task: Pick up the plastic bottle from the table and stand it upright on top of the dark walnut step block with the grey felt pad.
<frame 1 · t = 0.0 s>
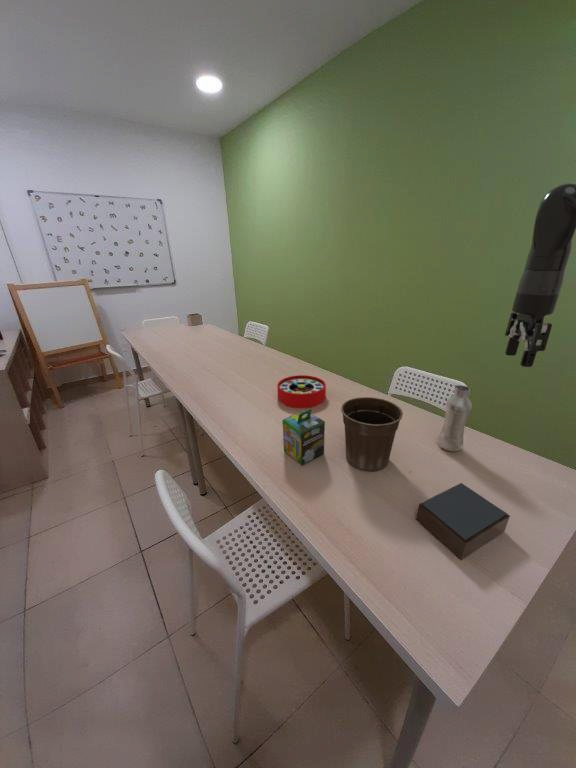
hand: (517, 360, 73), 30 cm above the table, tool pointing down, fingers open, 8 cm apart
toy clock: (301, 397, 126), on the table
step block: (458, 525, 65), on the table
plant pot: (366, 458, 88), on the table
plastic bottle: (448, 448, 91), on the table
chalk box: (303, 453, 91), on the table
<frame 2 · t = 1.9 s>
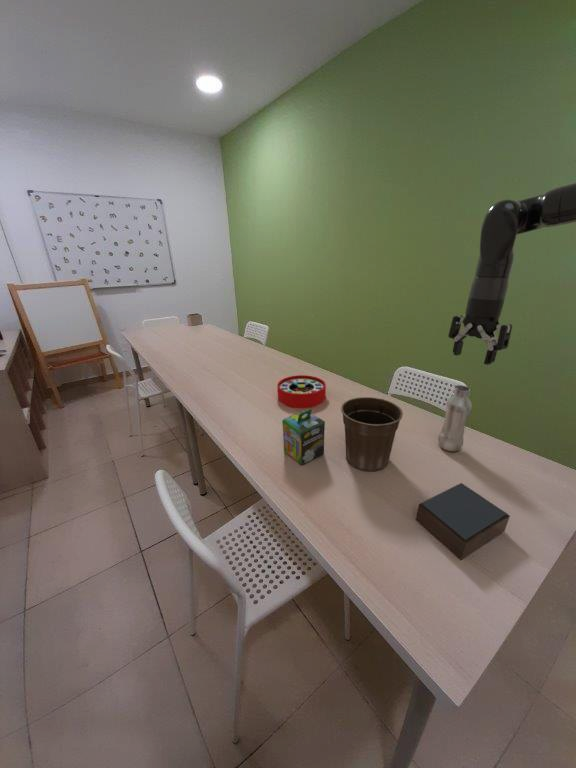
hand: (471, 359, 79), 29 cm above the table, tool pointing down, fingers open, 8 cm apart
nothing on the table moved.
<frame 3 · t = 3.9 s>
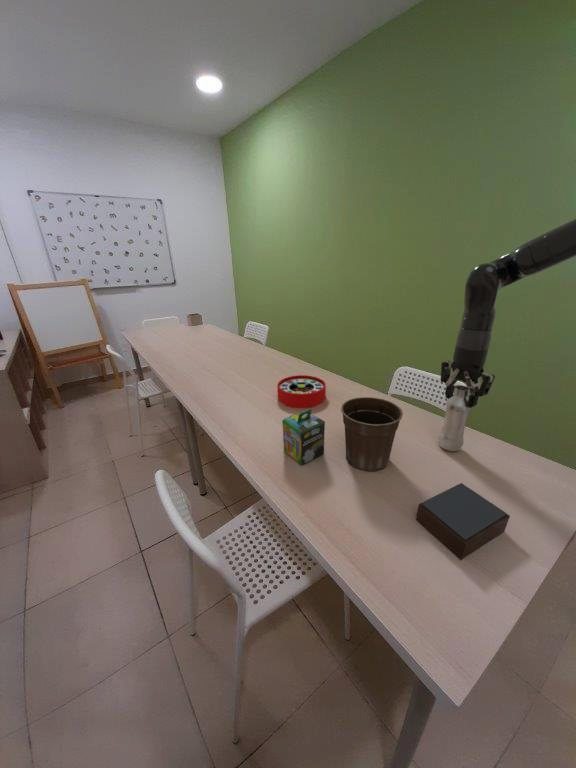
hand: (459, 402, 85), 16 cm above the table, tool pointing down, fingers closed on plastic bottle, 6 cm apart
plastic bottle: (448, 448, 91), on the table, touching gripper
everything else where it was.
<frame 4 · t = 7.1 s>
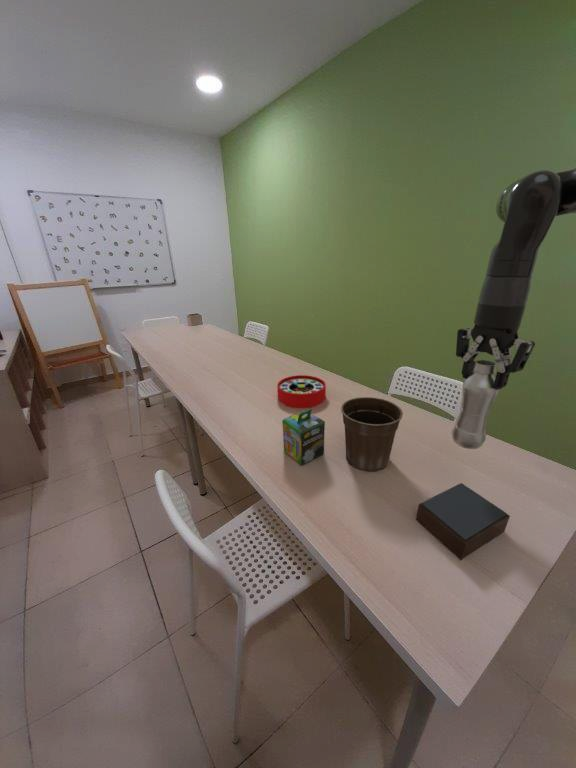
hand: (481, 382, 63), 29 cm above the table, tool pointing down, fingers closed on plastic bottle, 6 cm apart
plastic bottle: (465, 445, 69), point 14 cm above the table, touching gripper
everything else where it was.
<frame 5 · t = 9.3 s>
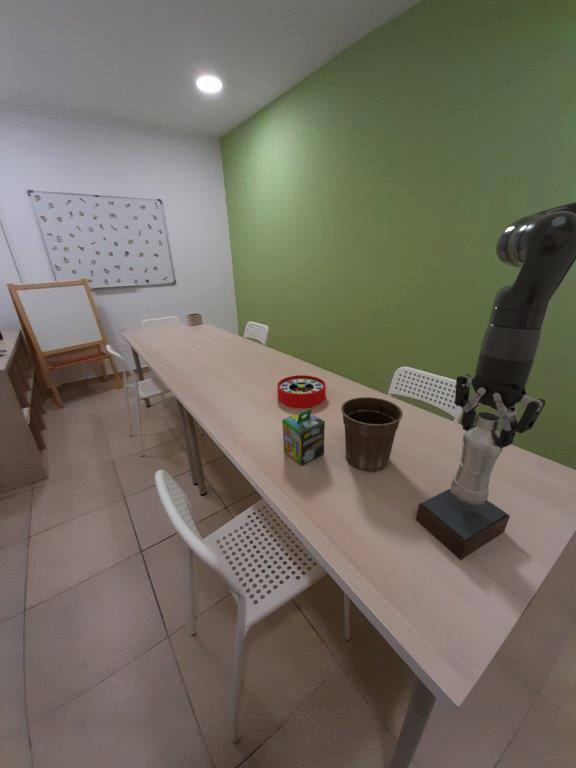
hand: (483, 436, 56), 23 cm above the table, tool pointing down, fingers closed on plastic bottle, 6 cm apart
plastic bottle: (466, 500, 63), point 7 cm above the table, touching gripper
everything else where it was.
when the fingers open (21 cm above the table, at t = 10.6 s): plastic bottle stays where it is, resting on step block.
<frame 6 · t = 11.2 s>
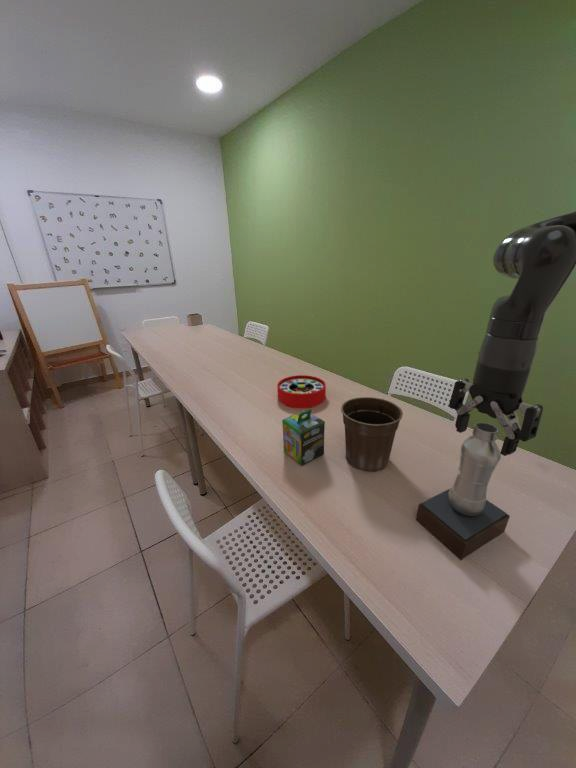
hand: (481, 441, 57), 22 cm above the table, tool pointing down, fingers open, 8 cm apart
plastic bottle: (463, 509, 64), point 5 cm above the table, touching step block
everything else where it was.
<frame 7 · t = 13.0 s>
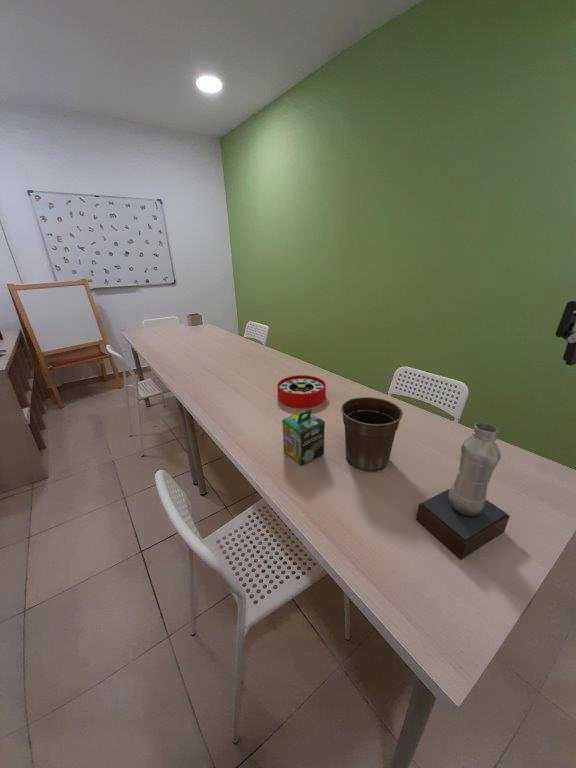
nothing on the table moved.
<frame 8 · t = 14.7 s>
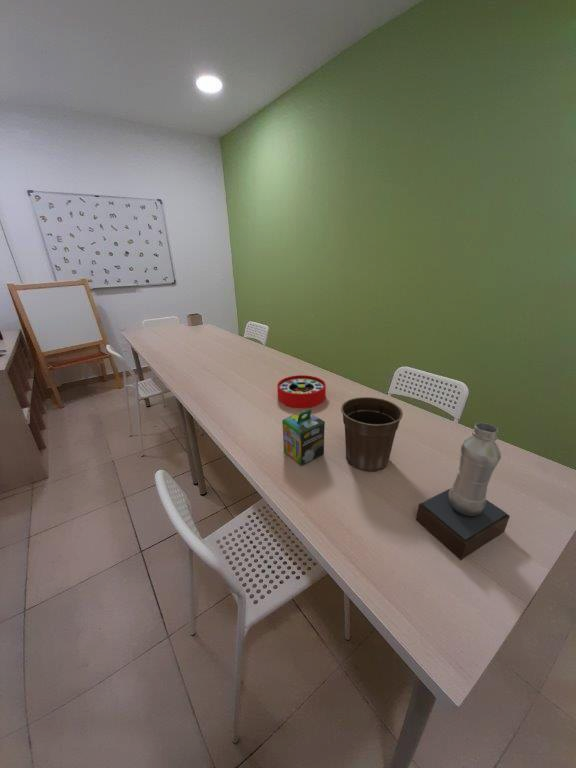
nothing on the table moved.
at the end: plastic bottle inside the target area on the step block (0.1 cm from its centre), point 4.8 cm above the step block's base; plastic bottle tilted 0°; the gripper is holding nothing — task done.
